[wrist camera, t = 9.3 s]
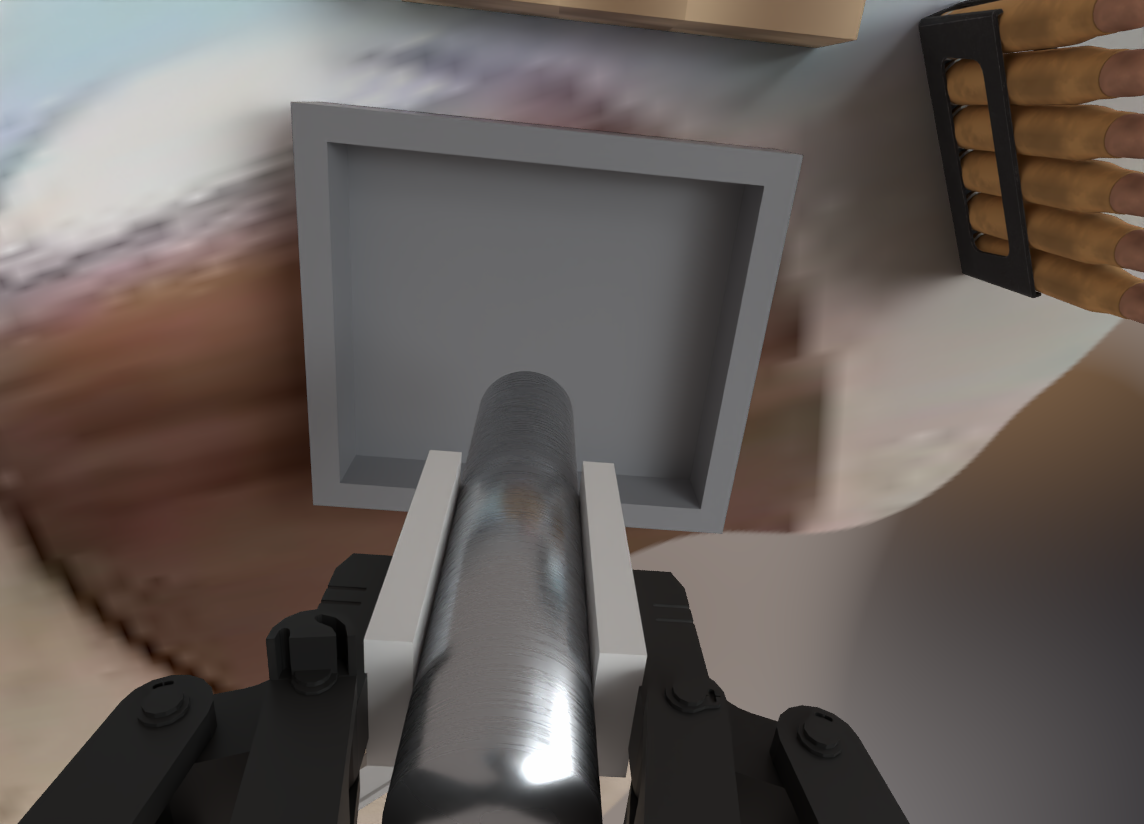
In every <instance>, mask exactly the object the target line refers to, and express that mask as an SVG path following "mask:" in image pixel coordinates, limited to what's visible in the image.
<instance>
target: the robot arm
mask: <svg viewBox="0 0 1144 824" xmlns="http://www.w3.org/2000/svg"><path fill="white" fill-rule="evenodd" d="M461 457H462V452H452V451H438V450H430V451H429V454H428V457H427V460H426V463H425V466H424V468H423V471H422V474H421V477H420V480H419V483H418V486H417V488H416V491H415V494H414V497H413V500H412V503H411V506H410V508H409V511H408V514H407V517H406V520H405V523H404V526H403V528H402V531H401V534H400V537H399V540H398V543H397V546H396V549H395V551H394V554H393V556H386V555H370V554H355V553H353V554H352V555H351V556H350V557H349V558H348V559H346V560H345V561H344V562H343V563H342V564H340V565H339V566H338V567H337V568H336V569H335V572H334V574H333V576H332V578H331V580H330V582H329V585H328V589H326V591H325V593H324V595H323V598H322V600H321V603H320V604H319V606H318V608H317V609H316V610H309V611H303V612H299V613H297V614H294V615H292V616H289V617H287V618H285V619H283V620H282V621H281V622H280V623H278V624H277V625H276V626H274V627H273V628H272V630H271V631H270V633H269V635H268V636H267V638H266V646H267V656H268V667H269V678H270V680H268V681H266V682H263V683H261V684H259V685H256V686H252V687H248V688H245V689H240V690H235V691H229V692H224V693H219V694H214V695H213V693H212V688H211V687H210V686H209V685H208V684H207V683H206V682H205V681H204V680H203V679H201V678H197V677H194V676H191V675H171V676H167V677H163V678H160V679H156V680H152V681H150V682H148V683H147V684H145V685H143V686H141V687H139V688H137V689H135V690H134V691H133V692H131V693H130V694H129V695H128V696H127V697H126V698H125V699H123V700H122V701H121V702H120V703H119V705H118V706H117V707H116V708H115V709H114V710H113V712H112V713H111V714H110V715H109V716H108V718H107V719H106V720H105V721H104V722H103V723H102V725H101V726H100V727H99V728H98V729H97V731H96V732H95V733H94V734H93V735H92V736H91V738H90V739H89V740H88V741H87V742H86V744H85V745H84V746H83V747H82V748H81V749H80V751H79V752H78V753H77V754H76V755H75V757H74V758H73V759H72V760H71V761H70V762H69V764H68V765H67V766H66V767H65V768H64V770H63V771H62V772H61V773H60V774H59V775H58V777H57V778H56V779H55V780H54V781H53V783H52V784H51V785H50V786H49V787H48V788H47V790H46V791H45V792H44V793H43V794H42V796H41V797H40V798H39V799H38V800H37V801H36V803H35V804H34V805H33V806H32V807H31V808H30V810H29V811H28V812H27V813H26V814H25V816H24V817H23V818H22V819H21V820H20V821H19V823H18V824H357V816H358V807H359V798H360V767H361V764H362V760H363V757H364V753H365V750H366V754H367V766H386V767H394V764H395V760H396V756H397V751H398V747H399V743H400V739H401V735H402V730H403V726H404V722H405V718H406V714H407V709H408V705H409V701H410V697H411V693H412V690H413V685H414V681H415V677H416V673H417V669H418V664H419V660H420V656H421V652H422V647H423V643H424V639H425V635H426V630H427V626H428V622H429V618H430V613H431V609H432V605H433V601H434V597H435V592H436V588H437V584H438V580H439V575H440V571H441V567H442V563H443V558H444V554H445V550H446V546H447V542H448V537H449V533H450V529H451V525H452V520H453V516H454V512H455V508H456V503H457V499H458V495H459V491H460V482H461ZM579 506H580V520H581V534H582V548H583V562H584V576H585V590H586V604H587V618H588V632H589V647H590V661H591V675H592V689H593V701H594V712H595V725H596V739H597V753H598V767H599V776H606V777H626V772H627V766H628V760H629V762H630V770H631V779H632V780H631V786H630V791H629V797H628V803H627V808H626V814H625V820H624V824H909V822H908V820H907V818H906V817H905V815H904V813H903V812H902V810H901V808H900V806H899V805H898V803H897V802H896V800H895V798H894V796H893V795H892V793H891V791H890V790H889V788H888V786H887V784H886V783H885V781H884V779H883V778H882V776H881V774H880V773H879V771H878V769H877V768H876V766H875V764H874V763H873V761H872V759H871V757H870V756H869V754H868V752H867V751H866V749H865V747H864V746H863V744H862V742H861V740H860V739H859V737H858V736H857V735H856V733H855V732H854V731H853V730H852V728H851V727H850V726H849V725H848V724H847V723H846V722H844V721H843V720H841V719H840V718H839V717H837V716H836V715H834V714H833V713H830V712H828V711H825V710H823V709H820V708H818V707H811V706H803V705H802V706H797V707H792V708H789V709H787V710H786V711H785V712H783V713H782V714H781V715H780V717H779V720H778V721H774V720H771V719H768V718H765V717H762V716H759V715H755V714H752V713H750V712H747V711H745V710H742V709H740V708H738V707H736V706H735V705H733V704H731V703H730V702H728V701H727V700H726V697H725V695H724V692H723V691H722V689H721V688H720V687H719V686H718V685H717V684H716V683H715V681H713V680H711V679H710V678H709V676H708V672H707V669H706V665H705V661H704V658H703V654H702V650H701V647H700V643H699V639H698V636H697V632H696V629H695V625H694V624H693V618H692V614H691V611H690V609H689V604H688V599H687V596H686V592H685V589H684V587H683V586H682V585H681V584H680V583H679V581H678V580H677V579H676V578H675V577H674V576H673V575H672V573H671V572H660V571H645V570H632V565H631V560H630V554H629V548H628V542H627V537H626V531H625V525H624V519H623V514H622V508H621V502H620V496H619V491H618V485H617V479H616V473H615V468H614V463H600V462H587V461H583V465H582V474H581V482H580V491H579Z"/></svg>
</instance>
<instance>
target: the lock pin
mask: <svg viewBox="0 0 1144 824" xmlns="http://www.w3.org/2000/svg"><path fill="white" fill-rule="evenodd" d="M382 824H602V809H601V795H600V781H599V767H598V753H597V739H596V725H595V712H594V701H593V689H592V675H591V661H590V647H589V632H588V618H587V604H586V590H585V576H584V562H583V548H582V534H581V520H580V506H579V489H578V475H577V461H576V447H575V433H574V419H573V408H572V404H571V401H570V398H569V396H568V395H567V393H566V391H565V390H564V389H563V388H562V387H561V386H560V385H559V384H558V383H557V382H556V381H555V380H553V379H552V378H550V377H548V376H546V375H543V374H540V373H537V372H531V371H520V372H514V373H510V374H507V375H505V376H503V377H501V378H499V379H498V380H496V381H495V382H494V383H492V384H491V385H490V386H489V388H488V389H487V390H486V391H485V393H484V395H483V397H482V399H481V402H480V405H479V410H478V414H477V418H476V422H475V426H474V431H473V435H472V439H471V443H470V448H469V452H468V456H467V460H466V464H465V469H464V473H463V477H462V481H461V486H460V491H459V495H458V499H457V503H456V508H455V512H454V516H453V520H452V525H451V529H450V533H449V537H448V542H447V546H446V550H445V554H444V558H443V563H442V567H441V571H440V575H439V580H438V584H437V588H436V592H435V597H434V601H433V605H432V609H431V613H430V618H429V622H428V626H427V630H426V635H425V639H424V643H423V647H422V652H421V656H420V660H419V664H418V669H417V673H416V677H415V681H414V685H413V690H412V693H411V697H410V701H409V705H408V709H407V714H406V718H405V722H404V726H403V730H402V735H401V739H400V743H399V747H398V751H397V756H396V760H395V764H394V768H393V773H392V777H391V781H390V785H389V789H388V794H387V798H386V802H385V806H384V811H383V816H382Z"/></svg>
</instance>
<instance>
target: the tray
mask: <svg viewBox="0 0 1144 824" xmlns="http://www.w3.org/2000/svg"><path fill="white" fill-rule="evenodd" d="M291 117H292V135H293V152H294V170H295V188H296V206H297V224H298V241H299V259H300V277H301V295H302V313H303V330H304V348H305V366H306V384H307V402H308V419H309V437H310V455H311V473H312V491H313V505H322V506H336V507H350V508H364V509H379V510H393V511H407V512H408V511H409V508H410V506H411V503H412V500H413V497H414V494H415V491H416V488H417V486H418V483H419V480H420V477H421V474H422V471H423V468H424V466H425V463H426V460H427V457H428V454H429V451H430V450H438V451H452V452H462V457H461V481H462V477H463V473H464V469H465V464H466V460H467V456H468V452H469V448H470V443H471V439H472V435H473V431H474V426H475V422H476V418H477V414H478V410H479V405H480V402H481V399H482V397H483V395H484V393H485V391H486V390H487V389H488V388H489V386H490V385H491V384H492V383H494V382H495V381H496V380H498V379H499V378H501V377H503V376H505V375H507V374H510V373H514V372H520V371H531V372H537V373H540V374H543V375H546V376H548V377H550V378H552V379H553V380H555V381H556V382H557V383H558V384H559V385H560V386H561V387H562V388H563V389H564V390H565V391H566V393H567V395H568V396H569V398H570V401H571V404H572V408H573V419H574V433H575V447H576V461H577V475H578V489H579V491H580V482H581V474H582V465H583V461H587V462H600V463H614V468H615V473H616V479H617V485H618V491H619V496H620V502H621V508H622V514H623V519H624V525H625V527H634V528H648V529H662V530H677V531H691V532H705V533H719V534H722V532H723V528H724V523H725V518H726V514H727V509H728V504H729V500H730V495H731V490H732V486H733V481H734V476H735V472H736V467H737V462H738V458H739V453H740V448H741V444H742V439H743V434H744V430H745V425H746V420H747V416H748V411H749V406H750V402H751V397H752V392H753V388H754V383H755V378H756V374H757V369H758V364H759V360H760V355H761V350H762V346H763V341H764V336H765V332H766V327H767V322H768V318H769V313H770V308H771V304H772V299H773V294H774V290H775V285H776V280H777V276H778V271H779V266H780V262H781V257H782V252H783V248H784V243H785V238H786V234H787V229H788V224H789V220H790V215H791V210H792V206H793V201H794V196H795V192H796V187H797V182H798V178H799V173H800V168H801V164H802V159H803V155H801V154H796V153H792V152H787V151H782V150H778V149H770V148H760V147H751V146H741V145H731V144H722V143H712V142H703V141H693V140H683V139H674V138H664V137H654V136H645V135H635V134H626V133H616V132H606V131H597V130H587V129H577V128H568V127H558V126H549V125H539V124H529V123H520V122H510V121H501V120H491V119H481V118H472V117H462V116H452V115H443V114H433V113H424V112H414V111H404V110H395V109H385V108H376V107H366V106H356V105H347V104H337V103H327V102H291ZM460 486H461V482H460Z"/></svg>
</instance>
